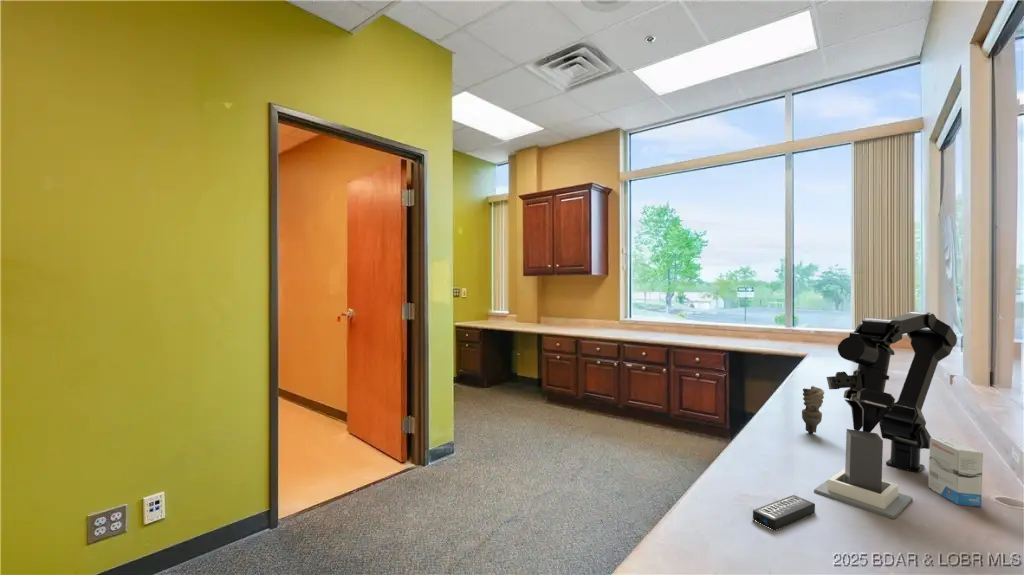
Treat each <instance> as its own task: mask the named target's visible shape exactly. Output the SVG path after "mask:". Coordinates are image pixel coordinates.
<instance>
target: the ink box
mask: <svg viewBox="0 0 1024 575" xmlns="http://www.w3.org/2000/svg"><path fill="white" fill-rule="evenodd" d="M928 460H929V461H928V488H929V489H930V488H931V490H932V491H934V492H935V491H936V492H935V493H937V494H939V495H941V496H942V497H944V498H946V499H947V500H949V501H950V502H952V503H954V504H955V505H958V506H972V507H982V495H983V492H982V491H983V490H982V489H983V465H984V464H983V462H984V453H983V452H981V451H979V450H977V449H975V448H973V447H971V446H968V445H966V444H964V443H961V442H959V441H957V440H954V439H952V438H951V439H949V438H938V437H931V438H930V449H929V459H928Z"/></svg>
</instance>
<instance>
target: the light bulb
mask: <svg viewBox="0 0 1024 575" xmlns="http://www.w3.org/2000/svg"><path fill="white" fill-rule="evenodd" d="M802 392H803V393H802V395H803V398H802V400H803V401H804V402H803V405H804V406H805V408H804V409H801V419H802V420H803V422H804V423H805V431H806V432H808V434H814V433H817V427H818V425H819V424H820V423H821V422H822V418H823V412H821V411H820V408H821V407H822V404H823V402H824V401H823V399H824V398H825V397H824V395H825V390H824V389H822V388H821V387H816V386H815V385H814V386H813V385H812V386H810V388H803V389H802Z"/></svg>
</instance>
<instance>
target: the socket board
mask: <svg viewBox="0 0 1024 575" xmlns="http://www.w3.org/2000/svg"><path fill="white" fill-rule="evenodd" d="M813 493H817V494H819V495H821V496H825V497H827V498H830V499H833V500H836V501H840V502H843V503H846V504H849V505H851V506H854V507H856V508H857V507H858V508H860V509H862V510H864V511H865V510H866V511H869V512H872V513H875V514H878V515H880V516H883V517H886V518H888V519H892V520H895V519H897V517H898V516H899V515H900V514H901V513H902V511H904V509H905V508H907V506H908V505H909V504H911V502H912V501H913V496H909V495H906V494H903V493H900V492H899V484H897V483H895V482H890V481H887V480H883V479H882V487H881V494H879V493H876V492H872V491H869V490H866V489H863V488H860V487H856V486H853V485H850V484H847V483H845V468H843V469H841V470H840V471H838V472H837V473H836V474H834V475H833V476H831V477H829V478H828V479H827V480H825V481H824V482H823V483H820V484H819V485H818V486H816V487H815V488H814V489H813ZM911 500H912V501H911Z"/></svg>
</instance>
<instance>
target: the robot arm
mask: <svg viewBox="0 0 1024 575" xmlns="http://www.w3.org/2000/svg"><path fill="white" fill-rule="evenodd" d="M904 334H905V335H907V336H908V338H909V339H910V345H911V346H910V347H911V348H912V350H913V352H914V356H913V358H912V360H911V364H910V367H909V369H908V372H907V375H906V377H905V379H904V383H903V386H902V388H901V391H900V394H899V396H898V398H897V399H898V400H897V401H896V398H895V397H894V396H893V394H892V393H888V392H885V388H886V383H887V381H889V379H890V375H888V372H889V366H890V361H891V360H890V359H891V356H895V355H896V354H895V351H894V350H893V349H892V348H891V345H893V344H896V343H897V342H899V341H901V340H903V335H904ZM957 337H958V336H957V334H956V333H955V332H954V329H952V327H951V326H950V325H949V324H947V323H946V322H944V321H943V320H940V319H938V317H936V315H935V314H934V313H931V312H929V311H928V312H923V311H911V312H907V313H906V314H901V315H898V316H893V317H888V318H873V317H872V318H871V317H867V318H866V317H865V318H864V319H863V320H861V322H860V324H858V326H857V327H856V329H855V330H854V331H853V332H849V335H848V336H847V337H845V338H844V339H842V340H841V341H840V342H839V343H838V344H837V353H838V355H839V356H840V357H841V358H843V359H844V360H847V361H849V362H852V363H855V364H857V369H855V370H853V371H852V374H851V375H848V374H847V371H837V372H836V373H835V374H834V375H835V376H834V375H833V376H826V381H827V385H828V389H829V390H839V389H846V388H847V389H846V390H844V393H843V399H844V401H845V403H847V405H848V406H850V408H851V415H852V416H851V418H852V423H853V424H852V426H853V427H852V428H853V430H857V431H861V429H862V431H864V432H871V433H872V431H873V430H874V429H875V427H876V426H878V425H879V429H880V435H881V439H885V440H889V441H890V458H889V459H888V460H886V461H885V465H887V466H888V465H889V466H892V467H896V468H899V469H903V470H907V471H909V472H912V473H913V472H914V473H920V472H921V471H923V469H924V468H925V465H924V464H921V450H923V449H925V450H930V438H932V436H931V435H930V433H929V431H928V429H927V428H926V424H927V421H926V419H925V417H924V415H923V412H922V410H923V406H924V403H925V401H926V397H927V395H928V393H929V392H928V391H929V389H930V386H931V384H932V380H933V378H934V375H935V372H936V369H937V367H938V363H939V362H940V361H941V360H944V359H945V358H947V357H948V356H949V355H951V353H952V350H953V349H954V347H955V346H957V345H956V344H957V342H958V338H957Z"/></svg>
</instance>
